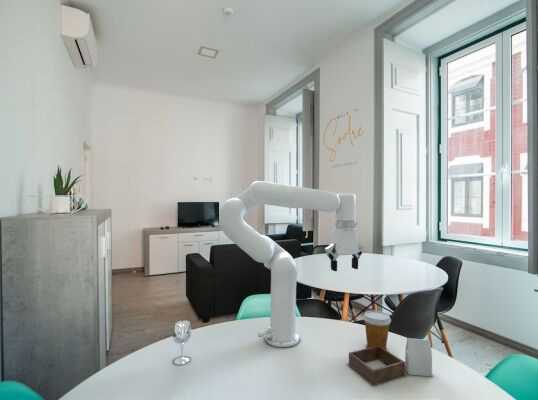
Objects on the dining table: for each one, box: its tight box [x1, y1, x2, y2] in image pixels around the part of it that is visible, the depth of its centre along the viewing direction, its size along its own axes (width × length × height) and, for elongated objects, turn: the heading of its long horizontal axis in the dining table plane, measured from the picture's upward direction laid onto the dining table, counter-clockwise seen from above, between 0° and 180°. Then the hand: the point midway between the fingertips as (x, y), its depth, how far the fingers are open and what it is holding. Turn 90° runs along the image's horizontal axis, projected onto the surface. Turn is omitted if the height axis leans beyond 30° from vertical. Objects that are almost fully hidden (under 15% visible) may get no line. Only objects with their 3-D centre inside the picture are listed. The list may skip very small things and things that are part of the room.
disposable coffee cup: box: [362, 310, 392, 350], centre depth 106 cm, size 10×10×12 cm
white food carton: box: [404, 337, 433, 377], centre depth 92 cm, size 4×7×10 cm, turn 83°
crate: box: [348, 346, 406, 386], centre depth 92 cm, size 12×11×4 cm
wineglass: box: [172, 320, 193, 366], centre depth 95 cm, size 6×6×12 cm
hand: (344, 269), depth 114 cm, fingers open, 9 cm apart
